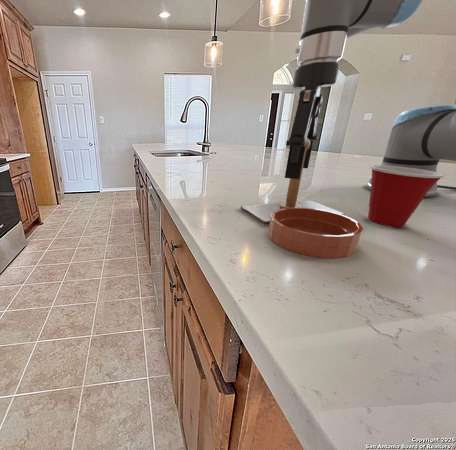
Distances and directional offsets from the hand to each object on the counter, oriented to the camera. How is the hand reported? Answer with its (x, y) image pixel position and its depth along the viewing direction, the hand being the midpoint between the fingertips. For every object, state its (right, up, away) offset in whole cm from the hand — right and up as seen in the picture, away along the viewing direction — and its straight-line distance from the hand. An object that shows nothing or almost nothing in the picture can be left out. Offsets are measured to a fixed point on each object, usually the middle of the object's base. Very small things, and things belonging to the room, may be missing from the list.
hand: (297, 172), depth 56 cm
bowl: (-3, -15, -10) cm, 18 cm away
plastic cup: (+18, -12, -3) cm, 22 cm away
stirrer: (0, -8, +4) cm, 9 cm away
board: (0, -9, +4) cm, 10 cm away
